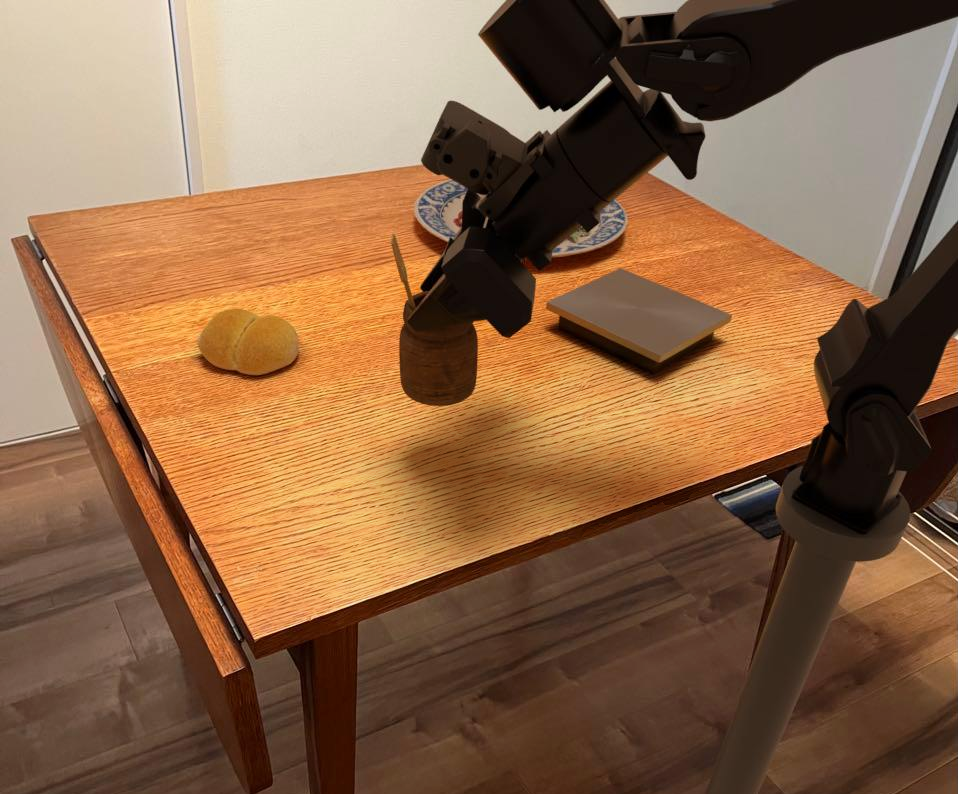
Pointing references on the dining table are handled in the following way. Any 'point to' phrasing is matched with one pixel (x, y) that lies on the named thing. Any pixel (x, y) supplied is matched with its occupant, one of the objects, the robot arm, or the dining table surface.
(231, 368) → the bread roll
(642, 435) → the dining table surface
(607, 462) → the dining table surface
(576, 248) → the ceramic plate
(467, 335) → the utensil holder
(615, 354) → the platform
